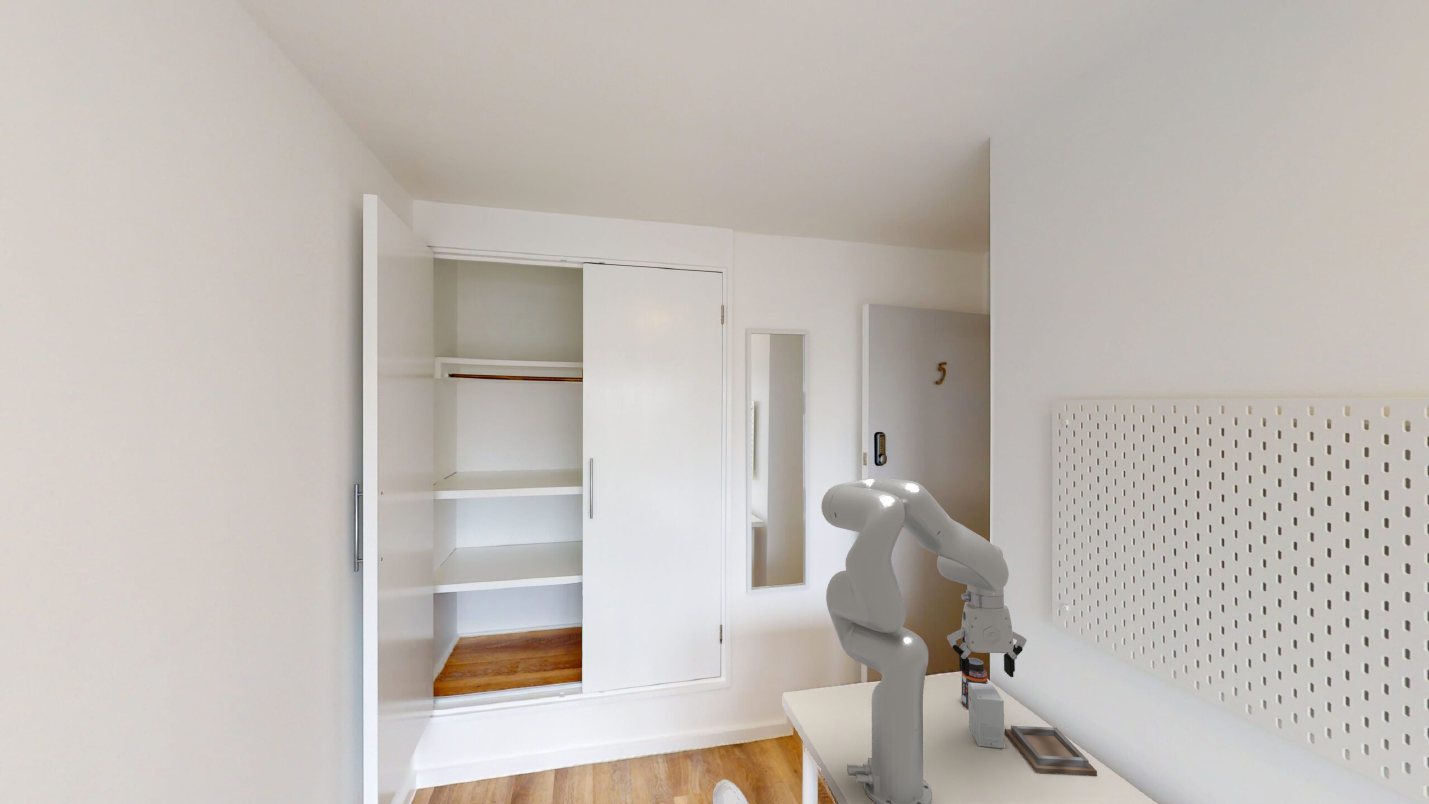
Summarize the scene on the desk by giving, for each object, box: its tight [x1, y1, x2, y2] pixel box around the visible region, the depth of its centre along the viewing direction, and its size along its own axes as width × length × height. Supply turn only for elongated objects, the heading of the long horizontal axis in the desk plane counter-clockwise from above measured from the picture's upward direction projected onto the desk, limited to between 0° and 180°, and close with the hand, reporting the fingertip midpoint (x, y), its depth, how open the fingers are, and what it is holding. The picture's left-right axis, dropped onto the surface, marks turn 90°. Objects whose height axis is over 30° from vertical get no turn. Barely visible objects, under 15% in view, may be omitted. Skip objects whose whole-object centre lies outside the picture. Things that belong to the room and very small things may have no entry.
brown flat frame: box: [1004, 725, 1098, 777], centre depth 119 cm, size 12×14×2 cm
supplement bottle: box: [961, 657, 989, 709], centre depth 139 cm, size 6×6×11 cm
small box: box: [968, 682, 1005, 750], centre depth 125 cm, size 8×6×10 cm
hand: (987, 673), depth 125 cm, fingers open, 9 cm apart
